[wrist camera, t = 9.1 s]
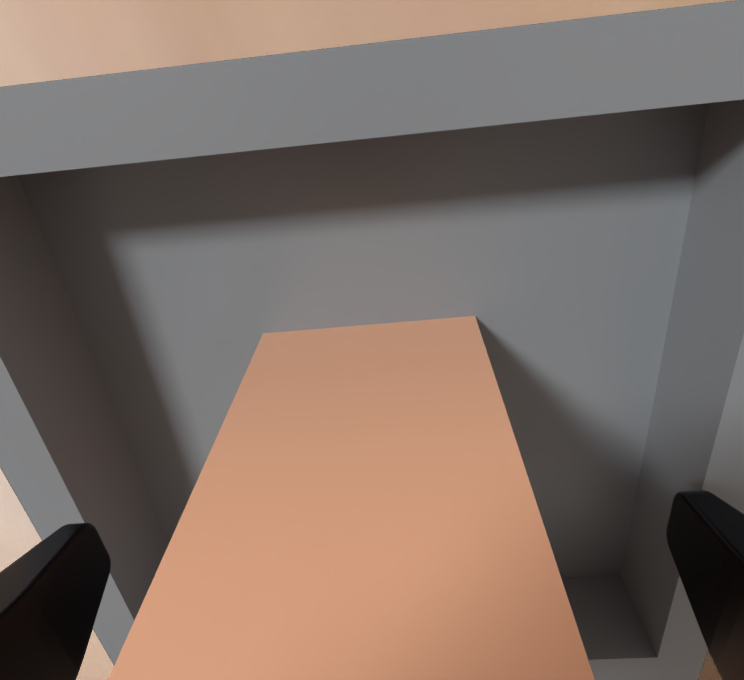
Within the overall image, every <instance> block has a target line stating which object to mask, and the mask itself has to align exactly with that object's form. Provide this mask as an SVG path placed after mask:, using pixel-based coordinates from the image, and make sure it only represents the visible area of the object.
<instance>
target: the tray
mask: <svg viewBox="0 0 744 680" xmlns="http://www.w3.org/2000/svg"><path fill="white" fill-rule="evenodd" d="M467 316H475V317H476V320H477V323H478V326H479V329H480V332H481V335H482V339H483V342H484V345H485V348H486V351H487V354H488V357H489V360H490V363H491V366H492V369H493V372H494V375H495V378H496V381H497V384H498V387H499V390H500V393H501V396H502V399H503V402H504V405H505V408H506V411H507V415H508V418H509V421H510V424H511V427H512V430H513V433H514V436H515V439H516V442H517V445H518V448H519V451H520V454H521V457H522V460H523V463H524V466H525V469H526V472H527V475H528V478H529V481H530V484H531V487H532V491H533V494H534V497H535V500H536V503H537V506H538V509H539V512H540V515H541V518H542V521H543V524H544V527H545V530H546V533H547V536H548V539H549V542H550V545H551V548H552V551H553V554H554V557H555V560H556V563H557V567H558V570H559V573H560V576H561V579H562V582H563V585H564V588H565V591H566V594H567V597H568V600H569V603H570V606H571V609H572V612H573V615H574V618H575V621H576V624H577V627H578V630H579V633H580V636H581V639H582V643H583V646H584V649H585V652H586V655H587V658H588V661H589V664H590V667H591V670H592V673H593V676H594V679H595V680H698V679H699V676H700V673H701V670H702V667H703V664H704V661H705V658H706V655H707V652H708V648H707V646H706V643H705V641H704V638H703V636H702V633H701V631H700V628H699V625H698V623H697V620H696V618H695V615H694V612H693V610H692V607H691V604H690V602H689V599H688V597H687V594H686V591H685V589H684V586H683V583H682V581H681V578H680V576H679V573H678V570H677V568H676V565H675V562H674V560H673V557H672V555H671V552H670V549H669V546H668V543H667V538H666V528H667V524H668V519H669V515H670V511H671V506H672V502H673V498H674V496H675V494H676V493H677V492H679V491H690V490H706V491H709V492H711V493H713V494H714V495H716V496H717V497H719V498H721V499H722V500H724V501H725V502H727V503H728V504H730V505H731V506H733V507H734V508H736V509H737V510H739V511H740V512H742V513H743V514H744V0H735V1H726V2H718V3H709V4H701V5H692V6H684V7H675V8H667V9H658V10H650V11H641V12H633V13H624V14H616V15H607V16H599V17H590V18H582V19H573V20H565V21H556V22H548V23H539V24H531V25H522V26H514V27H505V28H497V29H488V30H480V31H471V32H463V33H454V34H446V35H437V36H429V37H420V38H412V39H403V40H395V41H386V42H378V43H369V44H361V45H352V46H344V47H335V48H327V49H318V50H310V51H301V52H293V53H284V54H276V55H267V56H259V57H250V58H242V59H233V60H225V61H216V62H208V63H199V64H191V65H182V66H174V67H165V68H157V69H148V70H140V71H131V72H123V73H114V74H106V75H97V76H89V77H80V78H72V79H63V80H55V81H46V82H38V83H29V84H21V85H12V86H4V87H0V468H1V470H2V472H3V473H4V475H5V477H6V479H7V480H8V482H9V484H10V486H11V487H12V489H13V491H14V493H15V494H16V496H17V498H18V499H19V501H20V503H21V505H22V506H23V508H24V510H25V512H26V513H27V515H28V517H29V519H30V520H31V522H32V524H33V526H34V527H35V529H36V531H37V533H38V534H39V536H40V538H41V539H42V541H43V540H44V539H46V538H47V537H48V536H50V535H51V534H52V533H54V532H55V531H56V530H58V529H59V528H60V527H62V526H64V525H67V524H76V523H91V524H92V525H94V526H95V527H96V529H97V531H98V533H99V535H100V537H101V539H102V541H103V543H104V545H105V547H106V549H107V551H108V553H109V555H110V559H111V569H110V574H109V577H108V581H107V584H106V587H105V590H104V594H103V597H102V600H101V603H100V607H99V610H98V613H97V616H96V619H95V623H94V626H93V630H94V632H95V633H96V635H97V637H98V639H99V640H100V642H101V644H102V646H103V647H104V649H105V651H106V653H107V654H108V656H109V658H110V660H111V661H112V663H113V665H115V663H116V661H117V659H118V656H119V654H120V652H121V650H122V647H123V645H124V643H125V641H126V638H127V636H128V634H129V632H130V629H131V627H132V625H133V623H134V621H135V618H136V616H137V614H138V612H139V609H140V607H141V605H142V603H143V600H144V598H145V596H146V594H147V592H148V589H149V587H150V585H151V583H152V580H153V578H154V576H155V574H156V571H157V569H158V567H159V565H160V562H161V560H162V558H163V556H164V554H165V551H166V549H167V547H168V545H169V542H170V540H171V538H172V536H173V533H174V531H175V529H176V527H177V525H178V522H179V520H180V518H181V516H182V513H183V511H184V509H185V507H186V504H187V502H188V500H189V498H190V496H191V493H192V491H193V489H194V487H195V484H196V482H197V480H198V478H199V475H200V473H201V471H202V469H203V466H204V464H205V462H206V460H207V458H208V455H209V453H210V451H211V449H212V446H213V444H214V442H215V440H216V437H217V435H218V433H219V431H220V429H221V426H222V424H223V422H224V420H225V417H226V415H227V413H228V411H229V408H230V406H231V404H232V402H233V399H234V397H235V395H236V393H237V391H238V388H239V386H240V384H241V382H242V379H243V377H244V375H245V373H246V370H247V368H248V366H249V364H250V362H251V359H252V357H253V355H254V353H255V350H256V348H257V346H258V344H259V341H260V339H261V337H262V335H263V333H275V332H287V331H299V330H311V329H323V328H335V327H347V326H359V325H371V324H383V323H395V322H407V321H419V320H431V319H443V318H455V317H467Z"/></svg>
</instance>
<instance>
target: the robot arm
mask: <svg viewBox="0 0 744 680" xmlns="http://www.w3.org/2000/svg"><path fill="white" fill-rule="evenodd" d="M666 538H667V543H668V546H669V549H670V552H671V555H672V557H673V560H674V562H675V565H676V568H677V570H678V573H679V576H680V578H681V581H682V583H683V586H684V589H685V591H686V594H687V597H688V599H689V602H690V604H691V607H692V610H693V612H694V615H695V618H696V620H697V623H698V625H699V628H700V631H701V633H702V636H703V638H704V641H705V643H706V646H707V648H708V650H709V653H710V655H711V657H712V659H713V661H714V663H715V665H716V667H717V670H718V672H719V674H720V676H721V678H722V680H744V514H743V513H742V512H740V511H739V510H737V509H736V508H734V507H733V506H731V505H730V504H728V503H727V502H725V501H724V500H722V499H721V498H719V497H717V496H716V495H714V494H713V493H711V492H709V491H706V490H690V491H679V492H677V493H676V494H675V496H674V498H673V502H672V506H671V511H670V515H669V519H668V524H667V528H666ZM110 569H111V559H110V555H109V553H108V551H107V549H106V547H105V545H104V543H103V541H102V539H101V537H100V535H99V533H98V531H97V529H96V527H95V526H94V525H92V524H91V523H76V524H67V525H64V526H62V527H60V528H59V529H58V530H56V531H55V532H54V533H52V534H51V535H50V536H48V537H47V538H46V539H44V540H43V541H42V542H40V543H39V544H38V545H36V546H35V547H34V548H32V549H31V550H30V551H28V552H27V553H26V554H24V555H23V556H21V557H20V558H19V559H17V560H16V561H15V562H13V563H12V564H11V565H9V566H8V567H7V568H5V569H4V570H3V571H1V572H0V680H76V677H77V675H78V672H79V670H80V667H81V664H82V661H83V658H84V655H85V652H86V649H87V645H88V642H89V639H90V636H91V632H92V629H93V626H94V623H95V619H96V616H97V613H98V610H99V607H100V603H101V600H102V597H103V594H104V590H105V587H106V584H107V581H108V577H109V574H110Z"/></svg>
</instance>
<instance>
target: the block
mask: <svg viewBox="0 0 744 680" xmlns="http://www.w3.org/2000/svg"><path fill="white" fill-rule="evenodd" d="M108 680H595V679H594V676H593V673H592V670H591V667H590V664H589V661H588V658H587V655H586V652H585V649H584V646H583V643H582V639H581V636H580V633H579V630H578V627H577V624H576V621H575V618H574V615H573V612H572V609H571V606H570V603H569V600H568V597H567V594H566V591H565V588H564V585H563V582H562V579H561V576H560V573H559V570H558V567H557V563H556V560H555V557H554V554H553V551H552V548H551V545H550V542H549V539H548V536H547V533H546V530H545V527H544V524H543V521H542V518H541V515H540V512H539V509H538V506H537V503H536V500H535V497H534V494H533V491H532V487H531V484H530V481H529V478H528V475H527V472H526V469H525V466H524V463H523V460H522V457H521V454H520V451H519V448H518V445H517V442H516V439H515V436H514V433H513V430H512V427H511V424H510V421H509V418H508V415H507V411H506V408H505V405H504V402H503V399H502V396H501V393H500V390H499V387H498V384H497V381H496V378H495V375H494V372H493V369H492V366H491V363H490V360H489V357H488V354H487V351H486V348H485V345H484V342H483V339H482V335H481V332H480V329H479V326H478V323H477V320H476V317H475V316H467V317H455V318H443V319H431V320H419V321H407V322H395V323H383V324H371V325H359V326H347V327H335V328H323V329H311V330H299V331H287V332H275V333H263V335H262V337H261V339H260V341H259V344H258V346H257V348H256V350H255V353H254V355H253V357H252V359H251V362H250V364H249V366H248V368H247V370H246V373H245V375H244V377H243V379H242V382H241V384H240V386H239V388H238V391H237V393H236V395H235V397H234V399H233V402H232V404H231V406H230V408H229V411H228V413H227V415H226V417H225V420H224V422H223V424H222V426H221V429H220V431H219V433H218V435H217V437H216V440H215V442H214V444H213V446H212V449H211V451H210V453H209V455H208V458H207V460H206V462H205V464H204V466H203V469H202V471H201V473H200V475H199V478H198V480H197V482H196V484H195V487H194V489H193V491H192V493H191V496H190V498H189V500H188V502H187V504H186V507H185V509H184V511H183V513H182V516H181V518H180V520H179V522H178V525H177V527H176V529H175V531H174V533H173V536H172V538H171V540H170V542H169V545H168V547H167V549H166V551H165V554H164V556H163V558H162V560H161V562H160V565H159V567H158V569H157V571H156V574H155V576H154V578H153V580H152V583H151V585H150V587H149V589H148V592H147V594H146V596H145V598H144V600H143V603H142V605H141V607H140V609H139V612H138V614H137V616H136V618H135V621H134V623H133V625H132V627H131V629H130V632H129V634H128V636H127V638H126V641H125V643H124V645H123V647H122V650H121V652H120V654H119V656H118V659H117V661H116V663H115V665H114V667H113V670H112V672H111V674H110V676H109V679H108Z"/></svg>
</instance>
